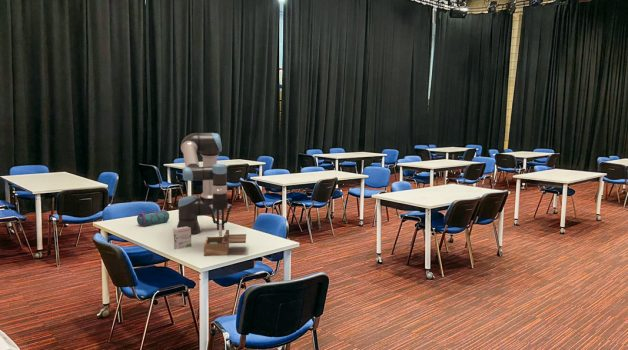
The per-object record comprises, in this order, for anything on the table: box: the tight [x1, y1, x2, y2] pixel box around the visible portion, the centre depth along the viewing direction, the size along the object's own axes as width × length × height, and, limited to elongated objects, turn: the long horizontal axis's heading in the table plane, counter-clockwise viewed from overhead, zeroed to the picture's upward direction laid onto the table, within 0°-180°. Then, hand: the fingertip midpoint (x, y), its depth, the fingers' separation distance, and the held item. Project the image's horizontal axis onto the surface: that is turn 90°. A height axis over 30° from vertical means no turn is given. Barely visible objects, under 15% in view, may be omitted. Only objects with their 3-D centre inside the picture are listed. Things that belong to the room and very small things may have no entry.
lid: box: [222, 229, 247, 244], centre depth 260 cm, size 17×12×4 cm
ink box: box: [172, 227, 192, 250], centre depth 269 cm, size 9×5×12 cm, turn 131°
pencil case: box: [136, 208, 170, 227], centre depth 330 cm, size 21×9×10 cm, turn 145°
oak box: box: [203, 236, 230, 257], centre depth 260 cm, size 16×12×7 cm
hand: (220, 235), depth 260 cm, fingers closed
